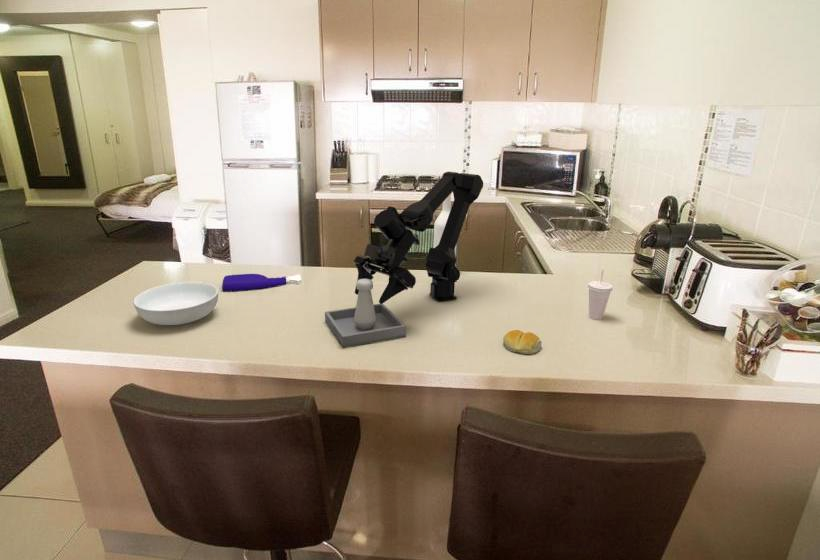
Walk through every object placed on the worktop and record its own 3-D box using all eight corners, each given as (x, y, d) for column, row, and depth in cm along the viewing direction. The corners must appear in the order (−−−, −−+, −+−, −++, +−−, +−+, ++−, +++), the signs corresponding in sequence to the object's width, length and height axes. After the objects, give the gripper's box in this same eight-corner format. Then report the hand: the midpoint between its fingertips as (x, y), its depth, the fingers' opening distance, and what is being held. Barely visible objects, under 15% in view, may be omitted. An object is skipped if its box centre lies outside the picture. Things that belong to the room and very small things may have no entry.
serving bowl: (118, 326, 129) (114, 302, 127) (180, 299, 148) (177, 277, 145) (180, 340, 122) (176, 314, 120) (237, 310, 140) (234, 287, 138)
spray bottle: (221, 285, 152) (302, 280, 159) (223, 274, 162) (299, 269, 169) (222, 294, 153) (302, 288, 160) (224, 282, 163) (299, 277, 170)
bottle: (460, 272, 176) (464, 187, 166) (444, 277, 171) (448, 190, 161) (443, 267, 181) (446, 184, 171) (428, 271, 176) (430, 187, 166)
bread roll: (509, 337, 127) (510, 322, 126) (543, 345, 123) (545, 331, 121) (497, 349, 120) (498, 334, 119) (532, 358, 116) (534, 343, 115)
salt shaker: (363, 333, 126) (362, 285, 121) (349, 326, 129) (348, 279, 125) (380, 327, 130) (380, 280, 125) (366, 320, 133) (365, 274, 129)
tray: (382, 313, 140) (382, 303, 139) (405, 336, 126) (406, 326, 125) (325, 322, 133) (324, 311, 132) (343, 348, 119) (342, 336, 118)
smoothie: (607, 314, 141) (614, 268, 137) (608, 323, 136) (615, 274, 131) (583, 311, 143) (590, 265, 139) (583, 319, 137) (590, 272, 133)
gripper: (357, 225, 132) (326, 274, 128) (408, 238, 120) (376, 292, 116) (379, 248, 140) (350, 294, 136) (429, 262, 128) (399, 313, 124)
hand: (367, 298), depth 128 cm, fingers open, 9 cm apart
